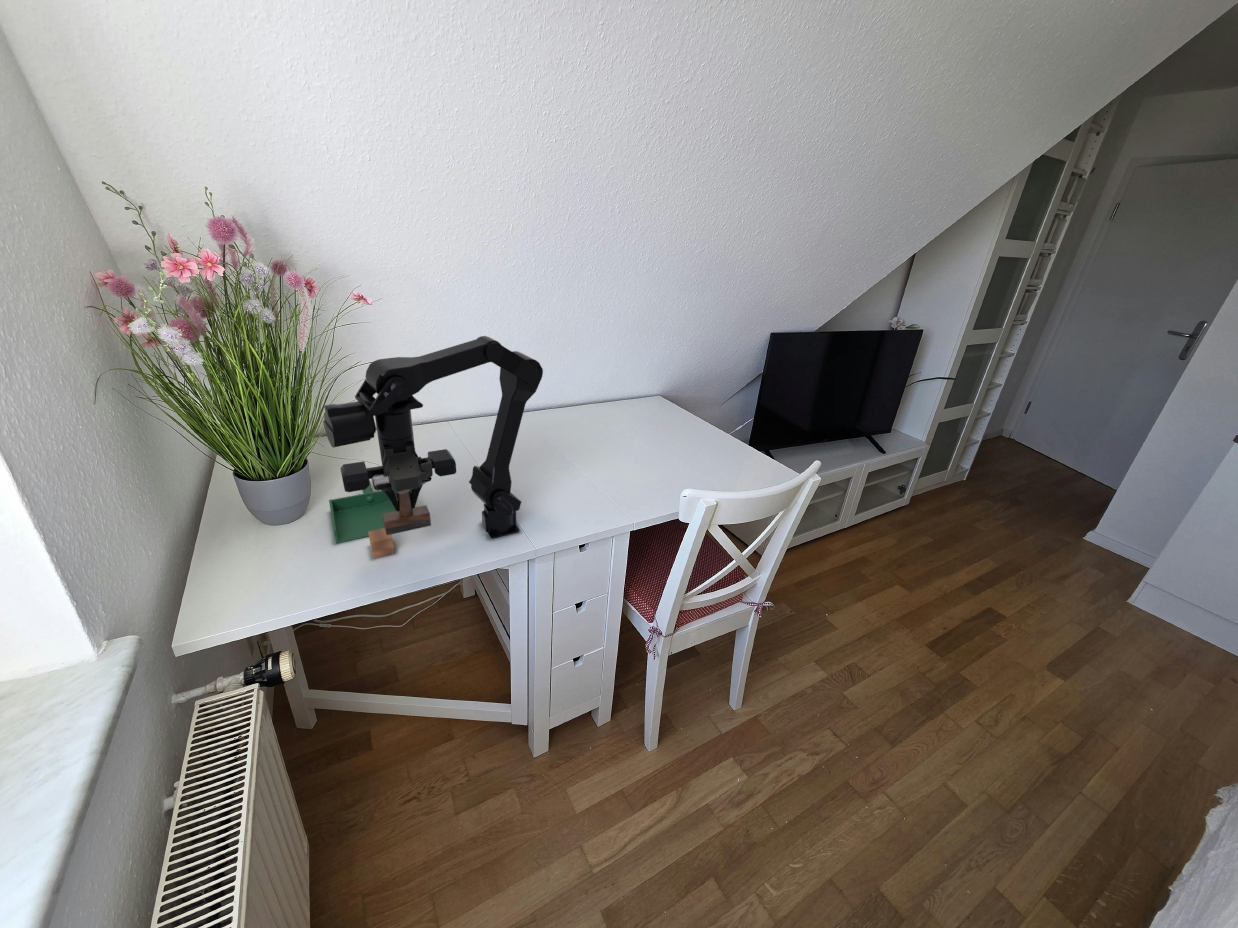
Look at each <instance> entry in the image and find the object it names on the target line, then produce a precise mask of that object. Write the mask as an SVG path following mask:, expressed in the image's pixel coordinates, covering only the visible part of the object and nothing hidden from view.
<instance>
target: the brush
mask: <svg viewBox="0 0 1238 928" xmlns="http://www.w3.org/2000/svg"><path fill="white" fill-rule="evenodd" d="M396 493H397V501H398V505H399V511H394V512H389V513H384V514H382V516H383V523H384V528H385V531H386V535H390V534H392V535H394V534H399V533H403V532H408V531H409V532H410V531H413V530H414V531H415V530H417V529H422V528H427V527H431V526H432V522H431V513H430V510H429V508H428V505H426V504H424V505H421V506H420V505H419V506H415V508H412V501H411V492H410V489H407V490H403V491H400V492H396Z"/></svg>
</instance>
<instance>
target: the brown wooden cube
mask: <svg viewBox="0 0 1238 928" xmlns="http://www.w3.org/2000/svg"><path fill="white" fill-rule="evenodd" d="M368 535H369V537H368V539H369V540H368V541H369V546H370V549H371V553H372V554H371V555H372V557H373V559H378V558H382V557H385V556H391V555H394V554H396V550H395V545H394V538H393V534H390V535H386V531H385V528H382V529H377V530H373V531H368Z"/></svg>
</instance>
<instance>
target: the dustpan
mask: <svg viewBox="0 0 1238 928" xmlns="http://www.w3.org/2000/svg"><path fill="white" fill-rule="evenodd" d="M369 483H370V485H369V486H368V487H367V488H366V489H365V490H362V492H363V493H359V494H354V495H348V496H343V497H339V498H334V499H329V500H328V502H329V508H330V517H331V524H332V530H333V536H334V539H335V544H341V543H345V542H351V541H356V540H360V539H363V538H369V535H368V531H373V530H377V529H382V528H384V523H383V516H382V514H384V513H389V512H394V511H396V509H395V507H394V506H393V504H392V502H391V501H390V499H389V497H388V496H387V495H386V494H385V493H384V492H383V491H382V490H378V491H377V490H375V491H374V490H373V487H372V486H373V485H372V482H371V479H369ZM394 493H395V496H396V499H397V493H396V491H394ZM397 502H398V501H397Z"/></svg>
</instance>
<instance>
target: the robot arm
mask: <svg viewBox="0 0 1238 928" xmlns="http://www.w3.org/2000/svg"><path fill="white" fill-rule="evenodd" d="M489 363H492V364H494V365H496V367H499V378H498V379H499V385H500V390H501V398H500V401H499V407H498V410H497V414H496V418H495V423H494V427H493V431H492V434H491V438H490V443H489V447H488V450H487V455H486V458H485V461H484V462H483V463H482V464H481V465H480V466H478V465H474V466H473V468H472V474H471V477H470V479H469V481H468V483H469V484H470V489H471V491H472V493H473V494H474V495H475V496H476V498H478V499H479V500H480V501H481V502H482V503H483V510H481V524H482V525H481V526H482V528H483V530H484V531H485V533H487V535H488V537H489V538H490V539H497V538H501V537H505V536H508V535H513V534H516V533H519V532H520V528H519V527H518V525H517V512H518V511H519V510H520V508H521V505H522V501H521V500H520V499H519V498H518V497H517V496H516V495H514V493H512V483H513V482H512V476H511V471H510V465H511V464H510V463H511V461H512V457H513V453H514V449H515V446H516V442H517V438H518V434H519V432H520V431H519V430H520V427H521V422H522V419H523V416H524V411H525V408H526V404H527V402H528V401H529V400H530V399H531V398H532V397H533V396H534V395H535V394H536V392H537V390H538V388H539V386H540V383H541V380H542V379H543V374H544V369H543V367H542V365H541V363H540V362H539V361H538V360H537V359H534V358H532V357H530V356H529V355H526V354H525V353H523V352H520V351H518V350H513V351H512V350H510V349H509V348H507V347H506V346H504V345H502V344H501V342H499V341H498V340H496V339H494V338H492V337H490V336H489V335H480V336H478V337H477V338H476V339H472V340H469V341H466V342H463V343H459V344H456V345H453V346H450V347H447V348H443V349H439V350H436V351H433V352H429V353H426V354H422V355H420V356H412V357H411V356H396V357H395V356H394V357H386V358H380V359H379V358H378V359H376V360H374V361H372V362H370V363H369V365H368V367H367V369H366V371H365V379H364V381H363V382H362V383H361V385H360V387H359V389H358V391H357V392H356V394H355V395H354V399H355V400H356V401H351V402H345V403H337V404H336V403H331V404H325V405H324V406H323V408H324V414H323V419H324V420H322V422H323V427H324V430H325V435H326V437H327V440H328V443H329V444H330V446H331V447H332V448H333V449H334V448H339V447H345V446H348V445H353V444H358V443H363V442H367V441H371V439H373V438H375V434H376V432H377V439H378V446H379V454H380V461H381V465H378V466H372V467H367V466H366V462H365V461H358V462H350V463H344V464H342V465H341V467H340V468H339V469H340V473H341V474H340V475H341V478H342V484H343V489H344V492H346V493H353V492H359V491H363V490H365V489H366V488H367V487H368V486H369V485H370V483H371V484H372V486H373V489H374V490H375V491H381V490H382V491H383V492H384V493H385V494H386V495H387V496H388V497H389V499H390V501H391V502H392V504H393V506H394V507H395V509H396V511H399V505H398V502H397V499H396V496H395V493H394V491H396V492H400V491H403V490H407V489H410V492H411V501H412V508H415V507H416V506H417V502H418V498H419V495H420V492H421V490H422V488H423V485H425V484H426V483H430V482H431V481H432V477H433V469H434V474H436V475H437V476H439V477H445V476H451V475H452V476H453V475H455V474H457V463H456V459H455V458H454V456H453V454H452V453H451V451H450V450H448V449H447V448H445V449H438V450H431V451H427V457H421V456H418V454H417V452H416V444H415V437H414V436H415V435H414V430H413V429H414V428H413V420H412V419H413V418H412V410H416V409H422V408H423V406H424V404H423V403H422V402H421V401H420V400H419V399H417V398H416V397H415V396H414V395H416V394H418V393H420V392H421V390H422V389H424V388H425V386H426V385H428V384H430V383H432V382H434V381H438V380H440V379H443V378H447V377H449V376H452V375H456V374H458V373H461V372H465V371H468V370H471V369H474V368H477V367H480V366H482V365H486V364H489ZM376 394H377V396H376V397H374V395H376ZM369 480H371V482H370V483H369Z"/></svg>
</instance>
